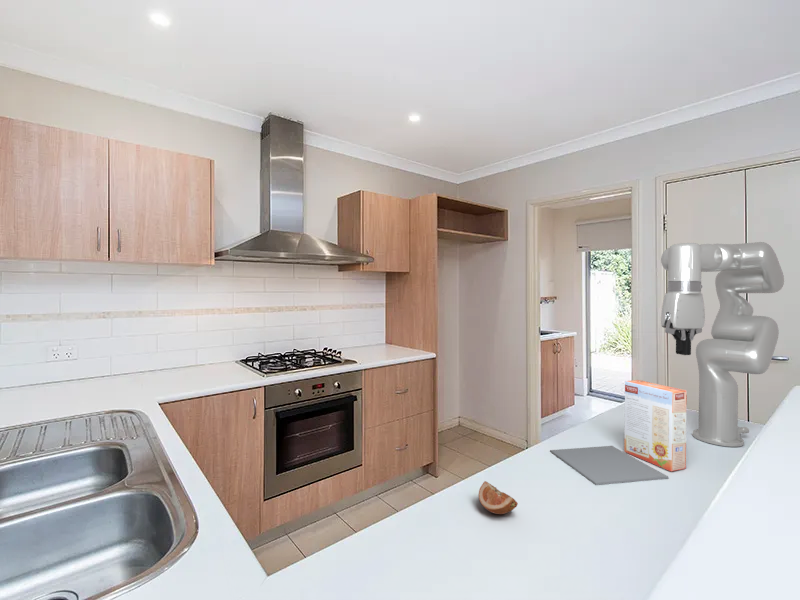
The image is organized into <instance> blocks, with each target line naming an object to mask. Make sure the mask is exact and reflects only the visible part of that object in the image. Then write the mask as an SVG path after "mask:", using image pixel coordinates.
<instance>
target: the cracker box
mask: <svg viewBox="0 0 800 600" xmlns="http://www.w3.org/2000/svg"><path fill="white" fill-rule="evenodd" d="M687 394H688V393H687V390H686V389H683V388H677V387H672V386H668V385H663V384H659V383H655V382H649V381H645V380H641V379H633V380H625V381H624V430H623V431H624V432H623V433H624V434H623V435H624V437H623V439H624V440H623V441H624V442H623V445H624V446H623V448H624V449H623V450H624V451H623V452H624V453H626V454H628V455H630V456H632V457H634V458H635V457H636V458H638V459H640V460H643V461H645V462H648V463H650V464H653V465H655V466H656V467H659V468H662V469H664V470H666V471H668V472H671V473H672V472H675V471H676V472H677V471H681V470H685V469H686V468H687V465H686V464H687V405H688V403H687V402H688V401H687V398H688V397H687V396H688V395H687Z"/></svg>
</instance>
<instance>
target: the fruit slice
mask: <svg viewBox="0 0 800 600" xmlns="http://www.w3.org/2000/svg"><path fill="white" fill-rule="evenodd" d="M478 500H479V502H480V504H481V506H482V507H483V508H484V509H485V510H487V511H488V512H490V513H492V514H496V515H504V514H508V513H510V512H512V511H513V510H514V509H515V508H517V506H518V505H519V504H518V502H517V501H516V499H515V498H513V497H512V496H511V495H509V494H507V493H506V492H503V491H500V490H499V489H498V488H497V486H496V487H495V486H494V485H492V484H491V483H489V482H488V481H485V480H484V481H483V482H482V484H481V486H480V488H479V490H478Z"/></svg>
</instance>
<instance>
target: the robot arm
mask: <svg viewBox="0 0 800 600" xmlns="http://www.w3.org/2000/svg"><path fill="white" fill-rule="evenodd" d="M660 263H661V266H662V267H663V269H664V270H665V271H666V272H667V293H665V294H664V297H663V302H662V306H661V317H660V324H661V327H662V328H664V333H666V334H669V335H672V337H673V340H674V341H675V354H676V355H681V356H691V354H692V342H693V340H694V339H695V338H694V337H695V336H696V335H698V334H701V333H703V328H704V326H705V324H706V323H705V321H706V311H705V310H706V309H705V302H704V295H703V293H702V288H703V285H702V272H703V273H704V272H705V273H707V272H710V273H711V272H715V273H716V272H718V273H717V274H716V276H715V280H714V282H715V283H714V284H715V291H716V295H717V298H718V302H719V309H718V312H717V314H716V316H715V319H714V321H713V324H712V326H711V330H710V334H711V337H712V338H705V339H702V340H700V341H699V342H698V343H697V345H696V347H695V356H696V362H697V367H698V368H697V369H698V428H697V429H694V430H692V433H691V434H692V437H693V438H694V439H696V440H699V441H701V442H703V443H707V444H711V445H715V446H722V447H728V448H729V447H732V448H738V447H739V448H740V447H742V446H744V445H745V441H744V440H745V439H743V438H742V437H740V436H741V435H744V434H749V433H750V429H749V428H748V427H747V426H743V427H742V426H741V427H740V426H739V425H738V424H739V423H738V420H739V418H738V417H739V415H738V414H739V387H738V386H739V385H738V382H737V381H736V379H735V378H734V377H733V376H732V374H731V373H730V372H734V373H742V374H748V375H751V374H752V375H762V374H765V373H766V372H767V370H768V369H769V367H770V364H771V363H772V359H773V355H774V352H775V349H776V346H777V343H778V340H779V333H780V332H779V330H780V329H779V325H778V323H777V321H776V320H775V319H773V318H772V317H769V316H766V315H753V314H754V308H753V306H752V304H751V303H750V302H749V301H748V300H747V299H746V298H744V297H743V296H741V295H740V294H775V293H778V292H779V291H781V290H782V289H783V287H784V285H785V276H784V273H783V270H782V267H781V264H780V262H779V258H778V256H777V254H776V252H775V250H774V248H773V247H772V246H771V245H770V244H769V243H767V242H764V241H758V242H757V241H756V242H746V243H745V242H744V243H730V244H729V243H713V244H712V243H703V244H702V243H701V244H699V243H696V242H683V243H682V242H680V243H676V244H675V243H674V244H672V245H670V246H669V247H667V248H666V249H665V250H664V251H663V252H662V254H661V257H660Z"/></svg>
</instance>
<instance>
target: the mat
mask: <svg viewBox="0 0 800 600" xmlns="http://www.w3.org/2000/svg"><path fill="white" fill-rule="evenodd" d="M549 452H550V453H551V454H552V455H553V456H555V457H557V458H558V460H561V461H562V462H564V464H566V465H568V466H569V467H570V468H571V469H572V470H575V471H576V472H577V473H578V474H580V475H581V476H583V477H584V478H585V479H587V481H589V482H591V483H592V484H593V485H594V486H600V485H601V486H602V485H609V484H610V485H613V484H623V483H624V484H625V483H634V482H645V481H656V480H666V479H667V480H668V479H669V476H668V475H666V474H665V473H662V471H661V472H660V471H659V470H657V469H655V468H654V467H652V466H650V465H648V464H646V463H644V462H643V461H640V460H638V459H637V458H635V456H633V455H631V454H628V453H626V452H624V451H623V450H621V449H619V448H617V447H615V446H614V445H604V446H603V445H602V446H592V447H591V446H589V447H575V448H573V447H572V448H564V449H563V448H561V449H550V450H549Z"/></svg>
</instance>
